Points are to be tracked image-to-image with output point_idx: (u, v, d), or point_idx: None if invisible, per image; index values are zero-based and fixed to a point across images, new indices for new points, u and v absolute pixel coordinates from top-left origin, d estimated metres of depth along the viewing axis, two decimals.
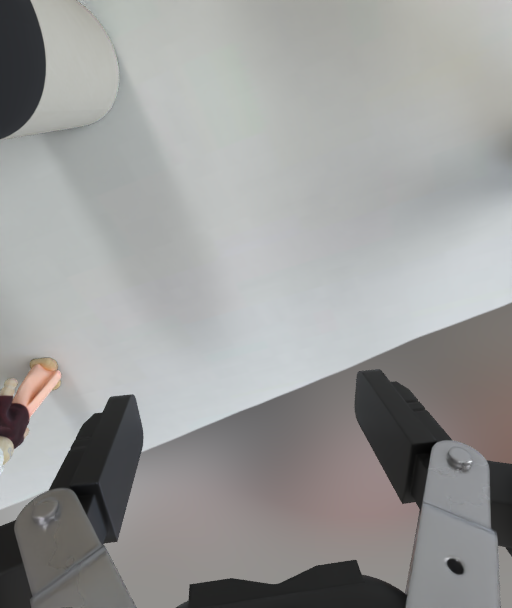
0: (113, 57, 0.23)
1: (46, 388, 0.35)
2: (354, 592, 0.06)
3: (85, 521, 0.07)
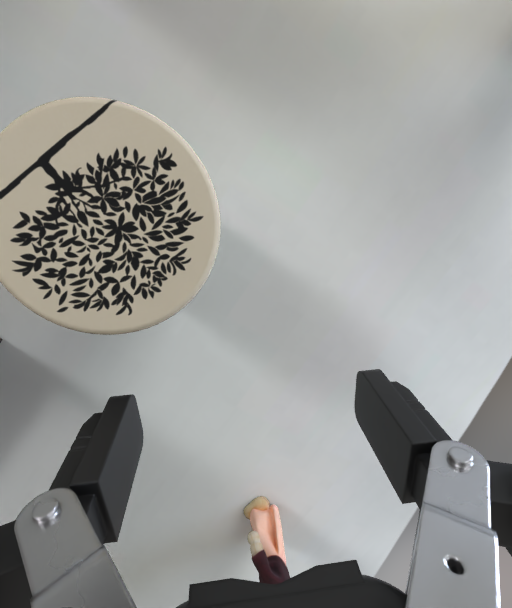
0: None
1: (278, 527, 0.32)
2: (354, 592, 0.06)
3: (85, 521, 0.07)
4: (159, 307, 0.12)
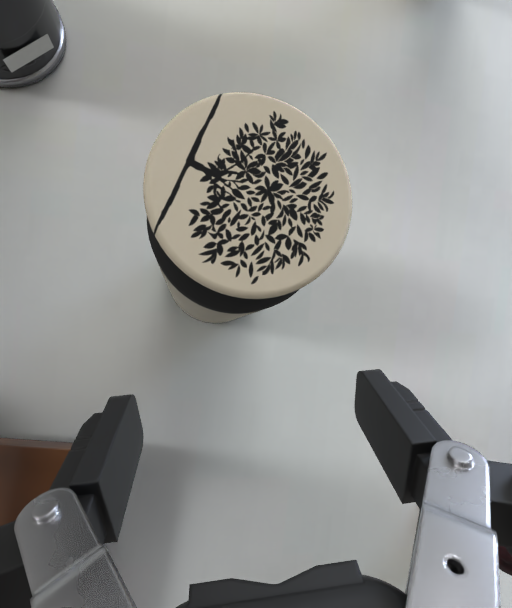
0: None
1: None
2: (354, 592, 0.06)
3: (85, 521, 0.07)
4: (329, 244, 0.12)
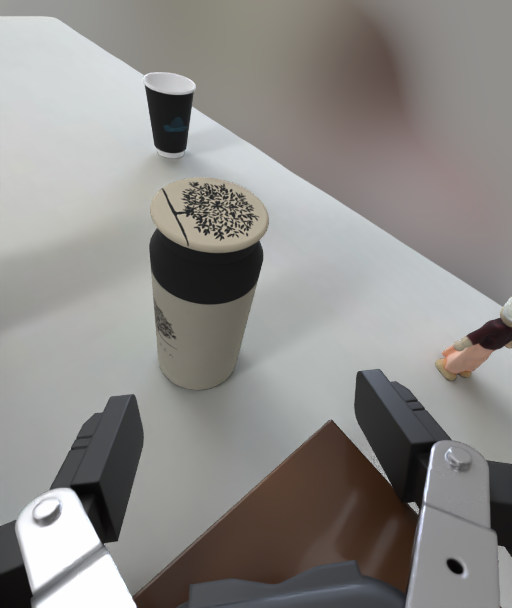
0: None
1: None
2: (354, 592, 0.06)
3: (85, 521, 0.07)
4: (259, 208, 0.23)
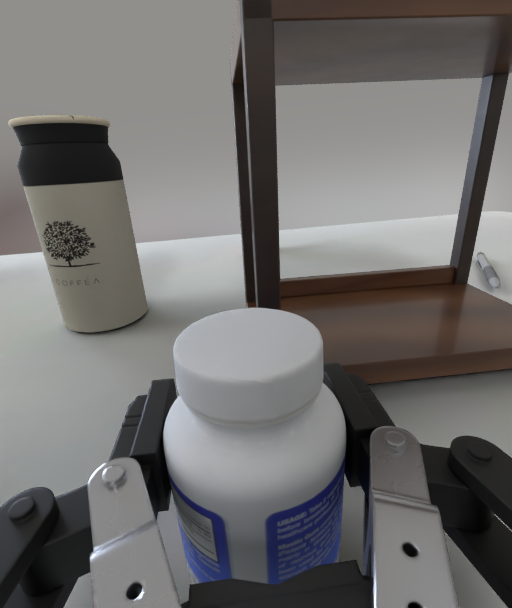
0: None
1: None
2: (354, 592, 0.06)
3: (144, 493, 0.08)
4: None
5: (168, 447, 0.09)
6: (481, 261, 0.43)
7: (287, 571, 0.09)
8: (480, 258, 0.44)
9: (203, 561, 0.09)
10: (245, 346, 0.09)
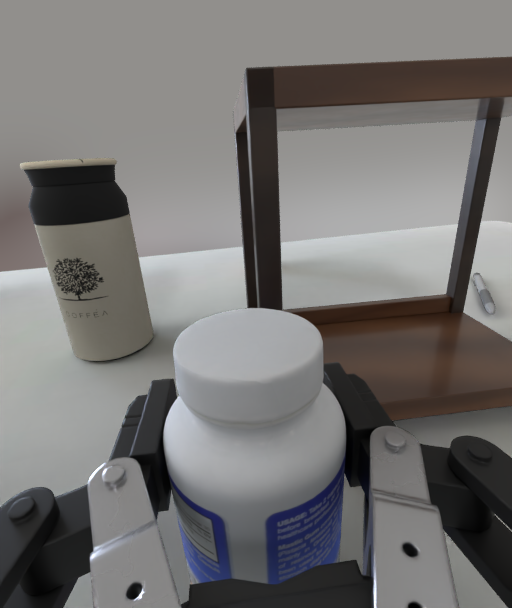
0: None
1: None
2: (354, 592, 0.06)
3: (144, 493, 0.08)
4: None
5: (168, 447, 0.09)
6: (477, 283, 0.44)
7: (287, 572, 0.09)
8: (476, 279, 0.45)
9: (203, 561, 0.09)
10: (245, 346, 0.09)
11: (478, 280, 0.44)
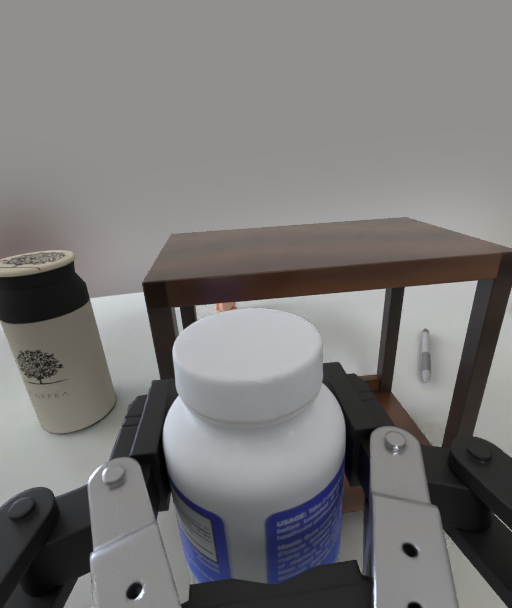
0: None
1: None
2: (354, 592, 0.06)
3: (144, 493, 0.08)
4: (59, 251, 0.35)
5: (167, 447, 0.09)
6: (423, 343, 0.47)
7: (287, 572, 0.09)
8: (423, 338, 0.48)
9: (202, 561, 0.09)
10: (244, 346, 0.09)
11: (424, 339, 0.48)
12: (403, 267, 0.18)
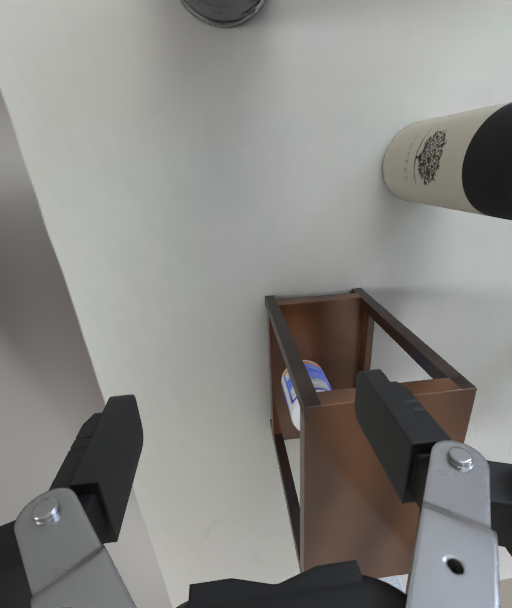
0: None
1: None
2: (354, 592, 0.06)
3: (85, 521, 0.07)
4: None
5: None
6: None
7: None
8: None
9: None
10: None
11: None
12: (303, 536, 0.28)
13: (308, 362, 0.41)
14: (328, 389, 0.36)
